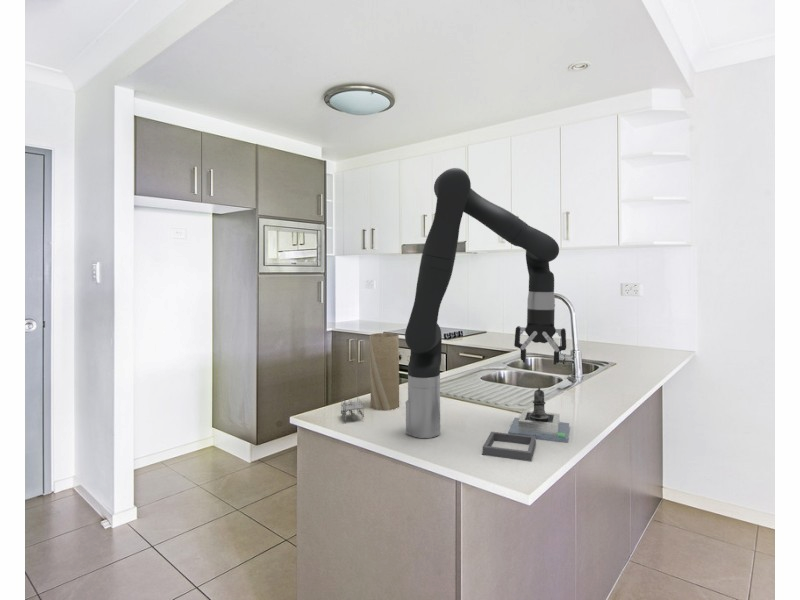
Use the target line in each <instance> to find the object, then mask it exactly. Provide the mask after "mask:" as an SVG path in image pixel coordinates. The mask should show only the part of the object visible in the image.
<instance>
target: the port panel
mask: <svg viewBox="0 0 800 600" xmlns="http://www.w3.org/2000/svg"><path fill="white" fill-rule="evenodd" d="M532 412H533V411H532V410H522V413H521V414H520V416H519V417H514V418H513V420H512V423H511V424H510V426H509V428H508V432H507V433H508V434H516V435H525V436H534V437H536V440H544V441H552V442H561V443H562V442H563V443H568V442H569V434H570V433H569V432H570V423H569V422H563V421H561V419H560V416H561V415H560V414H561V413H555V412H554V413H553V412H545V413H546V414H548V415H549V416H550V417H549V418H548V422H540V421H531V420H530V416H529V414H530V413H532Z"/></svg>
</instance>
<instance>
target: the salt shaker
mask: <svg viewBox="0 0 800 600" xmlns="http://www.w3.org/2000/svg"><path fill="white" fill-rule="evenodd" d="M537 388H538V389H536V390H535V391H534V394H533V401H532V404H533V409H532V410H533V412H532V413H530V414H529V416H530V420H531V421H540V422H548V418H549V417H550V416H549V415H548V414H546V413H547V412H546V411H545V404H546V402H545V391H544V390H542V389H541V387H540V386H539V387H537Z"/></svg>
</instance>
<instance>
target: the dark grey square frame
mask: <svg viewBox="0 0 800 600" xmlns="http://www.w3.org/2000/svg"><path fill="white" fill-rule="evenodd" d="M495 441H497V442H505V443H514V444H522V445H529V446H528V447H527V450H520V449H513V448H506V447H499V446H498V447H497V446H492V445H493V444H494V442H495ZM536 445H537V439H536V437H534V436H525V435H516V434H508V432H507V433H506V432H500V431H499V432H495V431H490V433H489V435H488V437H487V438H486V440H485V442H484V444H483V445H482V455H483V456H489V457H490V456H491V457H498V458H499V457H500V458H506V459H514V460H520V461H529V462H532V460H533V456H534V452H535V448H536Z"/></svg>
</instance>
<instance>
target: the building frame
mask: <svg viewBox="0 0 800 600" xmlns="http://www.w3.org/2000/svg"><path fill="white" fill-rule="evenodd" d="M356 397H357V396H356ZM340 401H341V402H340V403H341V404H340V406H341V407H340V408H341V409H340V415H341V419H343V420H344V423H345V424H346V423H347V412H348V415H350V416H351V417H353V419H356V411H358V413H359V415H360V416H361V418H365V414H364V413H363V410H364V406H363V402H362V401H361V400H360V401H359V398H358V397H357V399H356V401H353V400H352V399H349V401H348V402H346V400H344V399H341V400H340Z"/></svg>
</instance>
